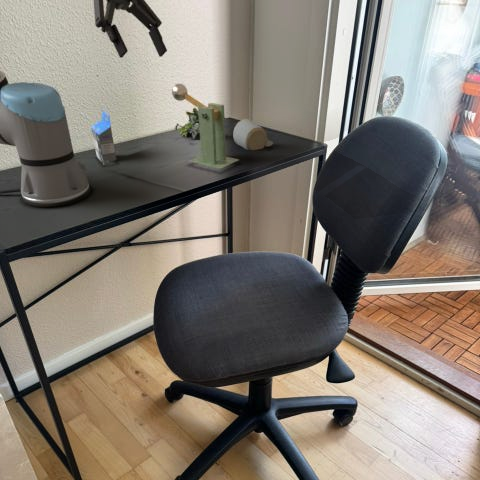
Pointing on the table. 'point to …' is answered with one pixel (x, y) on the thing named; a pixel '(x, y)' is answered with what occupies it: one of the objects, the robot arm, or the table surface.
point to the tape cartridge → (104, 140)
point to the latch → (188, 97)
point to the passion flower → (187, 127)
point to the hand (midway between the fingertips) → (144, 54)
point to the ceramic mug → (250, 135)
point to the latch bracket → (212, 138)
